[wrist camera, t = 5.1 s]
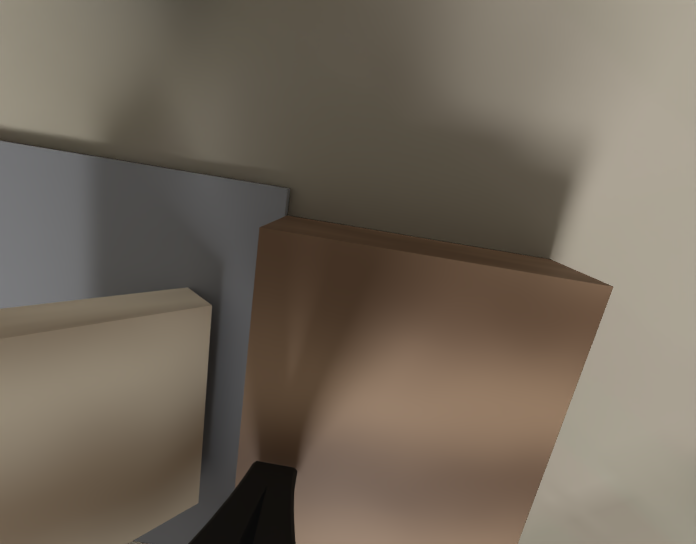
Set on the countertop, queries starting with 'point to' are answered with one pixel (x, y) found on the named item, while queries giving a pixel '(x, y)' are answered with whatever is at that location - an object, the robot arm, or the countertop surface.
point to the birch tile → (101, 415)
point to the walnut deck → (409, 380)
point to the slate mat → (143, 268)
